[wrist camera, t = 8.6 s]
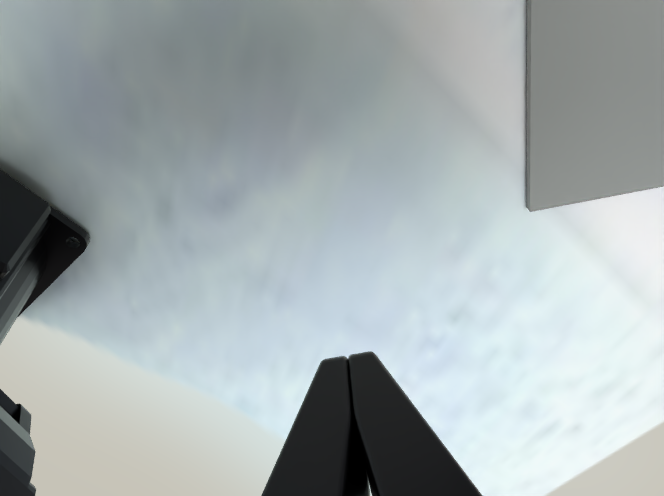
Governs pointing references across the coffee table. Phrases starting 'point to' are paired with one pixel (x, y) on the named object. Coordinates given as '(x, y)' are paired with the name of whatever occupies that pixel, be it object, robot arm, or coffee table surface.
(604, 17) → the mat
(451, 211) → the coffee table surface
